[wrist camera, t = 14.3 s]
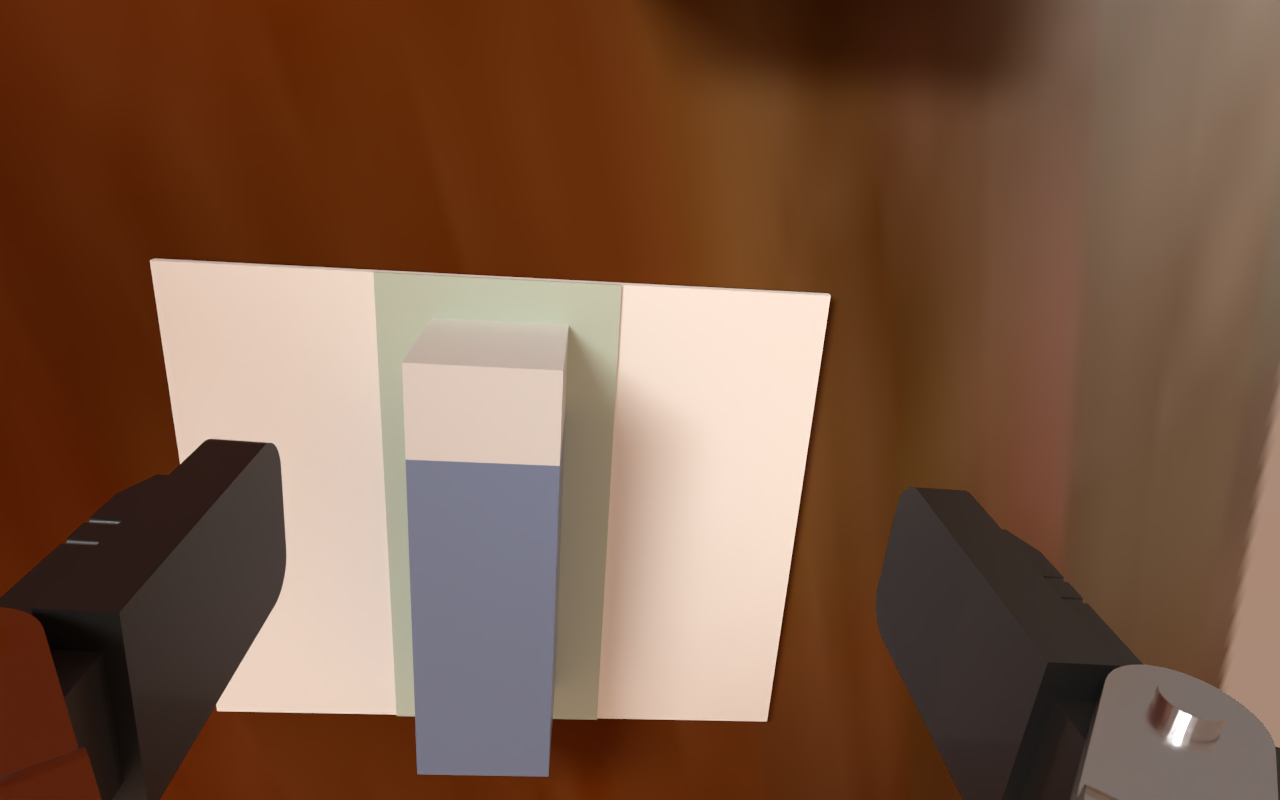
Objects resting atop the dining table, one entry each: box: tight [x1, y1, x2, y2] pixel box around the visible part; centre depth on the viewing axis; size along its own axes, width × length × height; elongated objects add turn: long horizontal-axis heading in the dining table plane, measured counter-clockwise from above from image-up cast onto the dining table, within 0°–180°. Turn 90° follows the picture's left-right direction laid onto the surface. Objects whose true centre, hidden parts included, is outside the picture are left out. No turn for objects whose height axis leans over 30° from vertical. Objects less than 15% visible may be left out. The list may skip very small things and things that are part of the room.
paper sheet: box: [150, 258, 831, 722], centre depth 31 cm, size 22×18×1 cm
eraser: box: [402, 318, 569, 777], centre depth 29 cm, size 4×15×4 cm, turn 176°
